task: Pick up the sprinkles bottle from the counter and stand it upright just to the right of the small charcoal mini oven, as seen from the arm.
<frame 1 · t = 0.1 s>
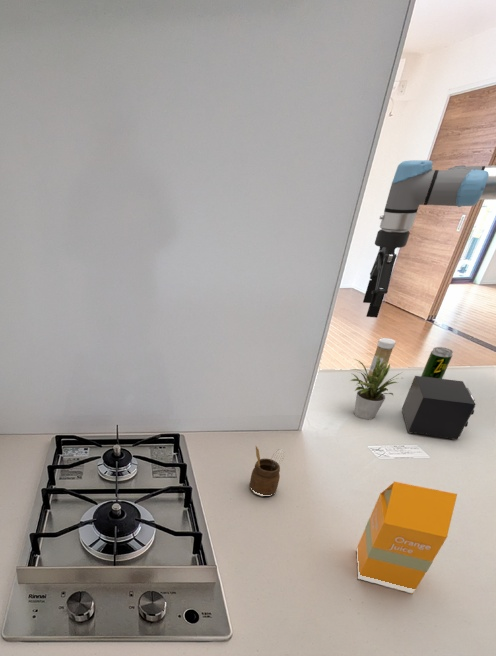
hand: (369, 309, 128), 23 cm above the worktop, tool pointing down, fingers open, 13 cm apart
sprinkles bottle: (373, 380, 141), on the worktop
orange juice: (382, 571, 80), on the worktop
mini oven: (427, 425, 118), on the worktop
house plant: (361, 412, 125), on the worktop
utensil holder: (261, 490, 99), on the worktop
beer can: (427, 387, 136), on the worktop
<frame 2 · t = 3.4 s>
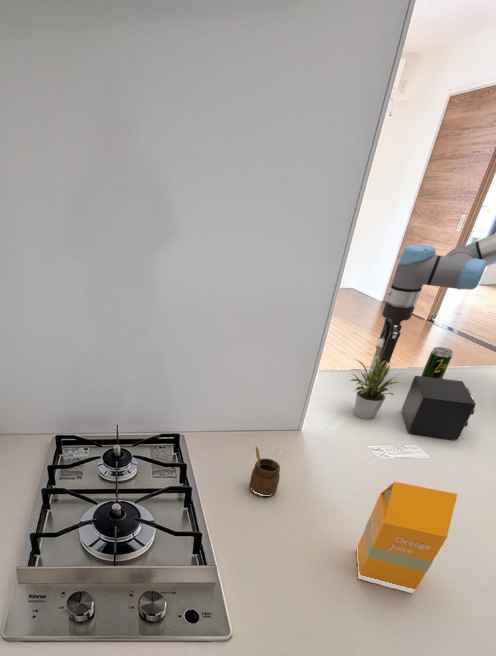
hand: (374, 376, 140), 1 cm above the worktop, tool pointing down, fingers closed on sprinkles bottle, 4 cm apart
sprinkles bottle: (373, 380, 141), on the worktop, touching gripper
everything else where it was.
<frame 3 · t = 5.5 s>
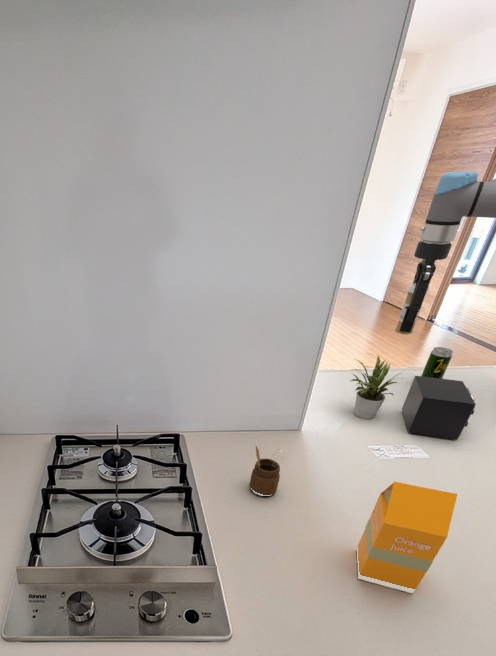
hand: (404, 328, 127), 18 cm above the worktop, tool pointing down, fingers closed on sprinkles bottle, 4 cm apart
sprinkles bottle: (402, 332, 128), point 17 cm above the worktop, touching gripper
everything else where it was.
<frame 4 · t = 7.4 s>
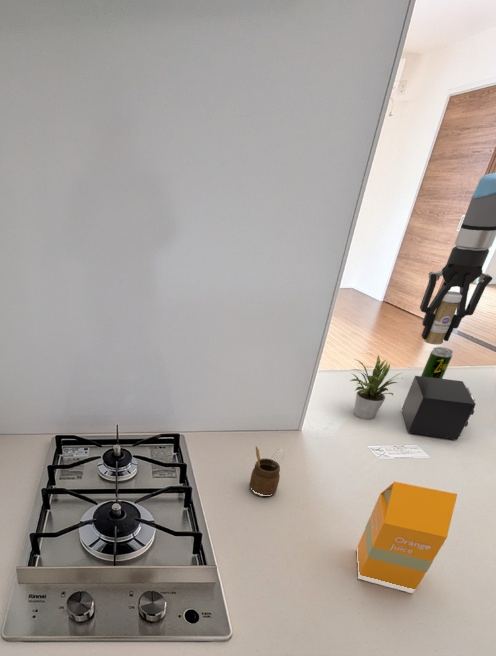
hand: (434, 338, 121), 18 cm above the worktop, tool pointing down, fingers closed on sprinkles bottle, 4 cm apart
sprinkles bottle: (432, 342, 122), point 17 cm above the worktop, touching gripper
everything else where it was.
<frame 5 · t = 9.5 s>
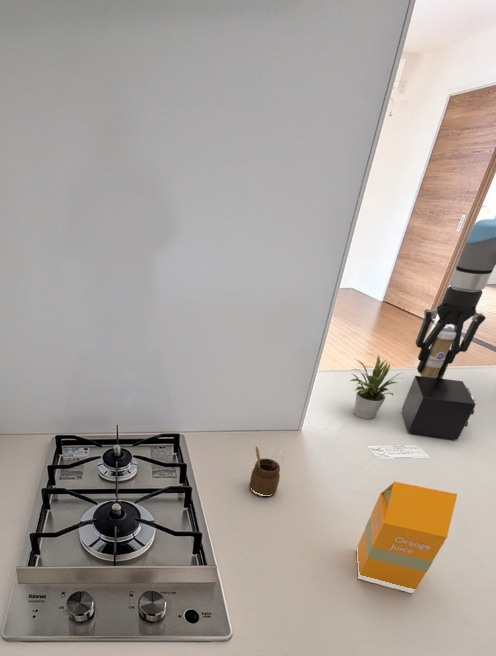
hand: (429, 371, 124), 9 cm above the worktop, tool pointing down, fingers closed on sprinkles bottle, 4 cm apart
sprinkles bottle: (427, 376, 125), point 8 cm above the worktop, touching gripper
everything else where it was.
when the fingers open (1 cm above the worktop, at t = 11.5 s): sprinkles bottle stays where it is, on the worktop.
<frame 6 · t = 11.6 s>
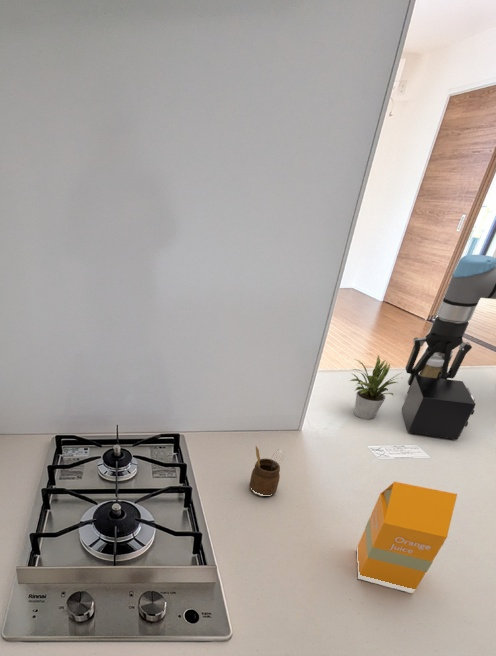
hand: (419, 396, 129), 1 cm above the worktop, tool pointing down, fingers open, 4 cm apart
sprinkles bottle: (417, 400, 130), on the worktop
everything else where it was.
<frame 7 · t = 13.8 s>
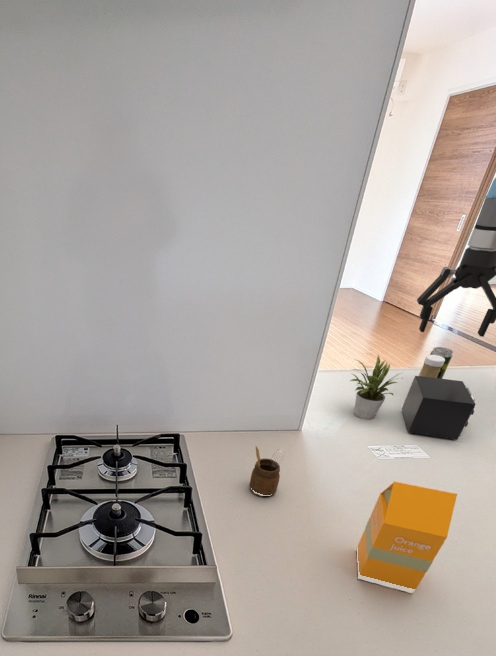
hand: (450, 332, 118), 20 cm above the worktop, tool pointing down, fingers open, 13 cm apart
nothing on the worktop moved.
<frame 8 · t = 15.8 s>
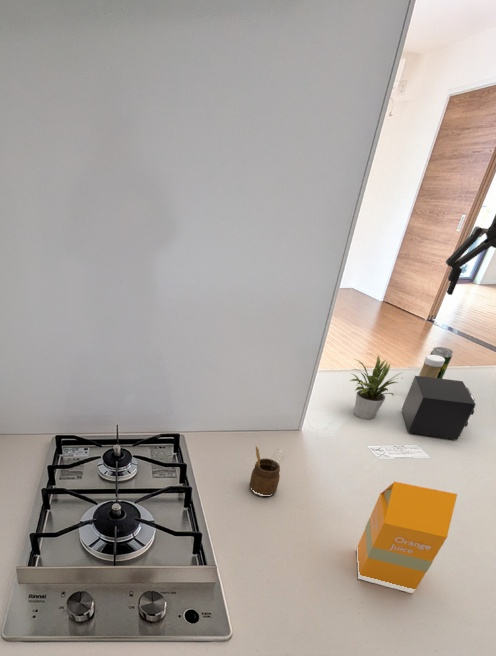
hand: (478, 295, 117), 29 cm above the worktop, tool pointing down, fingers open, 13 cm apart
nothing on the worktop moved.
at the end: sprinkles bottle inside the target area on the worktop beside the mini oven (0.9 cm from its centre), on the worktop; sprinkles bottle tilted 0°; the gripper is holding nothing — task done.
